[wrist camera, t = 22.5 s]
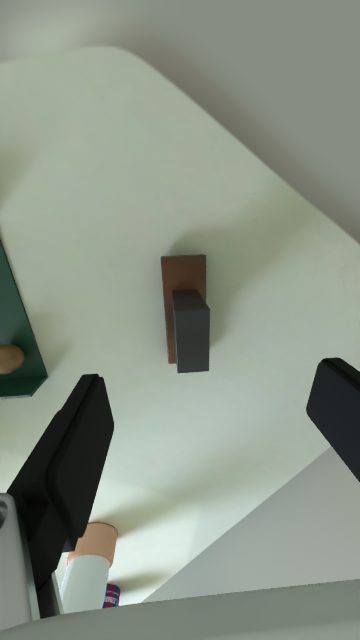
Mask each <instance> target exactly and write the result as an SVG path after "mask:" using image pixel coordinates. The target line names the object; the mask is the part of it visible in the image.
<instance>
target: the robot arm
mask: <svg viewBox="0 0 360 640" xmlns="http://www.w3.org/2000/svg"><path fill="white" fill-rule="evenodd" d="M306 411H307V414H308V416H309V418H310V419H311V420H312V421H313V423H314V424H315V425H316V427H317V428H318V429H319V430H320V432H321V433H322V434H323V436H324V437H325V438H326V439H327V441H328V442H329V443H330V445H331V446H332V447H333V448H334V450H335V451H336V452H337V454H338V455H339V456H340V457H341V459H342V460H343V461H344V463H345V464H346V465H347V466H348V468H349V469H350V470H351V472H352V473H353V474H354V475H355V477H356V478H357V479H358V481H359V482H360V372H359V371H358V370H356V369H355V368H354V367H352V366H351V365H349V364H348V363H347V362H345V361H344V360H342V359H341V358H325V359H323V360H322V361H321V362H320V363H319V364H318V367H317V370H316V374H315V378H314V381H313V385H312V389H311V392H310V396H309V400H308V403H307V407H306ZM113 431H114V421H113V417H112V412H111V408H110V404H109V400H108V395H107V391H106V387H105V383H104V379H103V377H99V375H98V374H86V375H82V376H81V378H80V380H79V381H78V383H77V384H76V386H75V388H74V389H73V391H72V393H71V394H70V396H69V397H68V399H67V401H66V402H65V404H64V406H63V407H62V409H61V410H59V411H58V412H57V413H56V414H55V416H54V417H53V419H52V421H51V422H50V424H49V425H48V427H47V428H46V430H45V432H44V433H43V435H42V436H41V438H40V440H39V441H38V443H37V444H36V446H35V447H34V449H33V451H32V452H31V454H30V455H29V457H28V459H27V460H26V462H25V463H24V465H23V467H22V468H21V470H20V471H19V473H18V474H17V476H16V478H15V479H14V481H13V482H12V484H11V486H10V487H9V489H8V490H7V492H6V493H0V640H360V579H356V580H347V581H337V582H327V583H318V584H308V585H299V586H290V587H281V588H271V589H263V590H253V591H244V592H235V593H226V594H218V595H208V596H200V597H191V598H182V599H174V600H164V601H156V602H147V603H138V604H131V605H124V606H117V607H109V608H102V609H95V610H88V611H81V612H73V613H67V614H64V610H63V606H62V601H61V597H60V593H59V589H58V584H57V580H56V576H55V570H56V569H57V566H58V563H59V560H60V557H61V554H62V553H63V552H73V551H75V548H76V545H77V542H78V538H82V537H83V536H84V534H85V531H86V528H87V524H88V521H89V517H90V514H91V510H92V507H93V503H94V499H95V496H96V492H97V489H98V485H99V481H100V478H101V474H102V471H103V467H104V464H105V460H106V456H107V453H108V449H109V446H110V442H111V438H112V435H113Z"/></svg>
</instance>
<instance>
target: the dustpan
mask: <svg viewBox="0 0 360 640" xmlns="http://www.w3.org/2000/svg"><path fill="white" fill-rule="evenodd" d="M1 344H13V345H16V346H18V347H19V348H20V349H21V350H22V351H23V353H24V362H23V364H22V365H21V367H20V368H19V369H17V370H16V371H14V372H12V373H9V374H0V399H10V398H23V397H31V396H32V395H33V394H34V393H35V392H36V391H37V389H38V388H39V387H40V386H41V385H42V384H43V382H44V381H45V380H46V379H47V378H48V375H47V373H46V370H45V367H44V364H43V361H42V358H41V355H40V352H39V350H38V347H37V344H36V341H35V338H34V335H33V332H32V329H31V326H30V324H29V321H28V318H27V315H26V312H25V309H24V306H23V303H22V301H21V298H20V295H19V292H18V289H17V286H16V283H15V280H14V278H13V275H12V272H11V269H10V266H9V263H8V260H7V257H6V254H5V252H4V249H3V246H2V243H1V240H0V345H1Z"/></svg>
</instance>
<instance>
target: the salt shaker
mask: <svg viewBox="0 0 360 640" xmlns="http://www.w3.org/2000/svg"><path fill="white" fill-rule="evenodd" d="M117 534H118V533H117V531H116V529H115V528H113V527H112V526H110V525H107V524H103V523H91V524H87V528H86V531H85V534H84V536H83V537H82V538H78V542H77V545H76V548H75V551H73V552H69V554H68V557H67V569H66V572H65V575H64V579H63V582H62V585H61V588H60V591H59V593H60V597H61V601H62V606H63V610H64V614H67V613H73V612H81V611H88V610H95V609H102V607H103V603H104V599H105V593H106V586H107V580H108V573H109V568H110V567H111V566H112V563H113V558H114V552H115V546H116V540H117Z"/></svg>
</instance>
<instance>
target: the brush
mask: <svg viewBox="0 0 360 640" xmlns="http://www.w3.org/2000/svg"><path fill="white" fill-rule="evenodd" d="M161 267H162V280H163V294H164V307H165V321H166V335H167V348H168V362H169V364H172V363H177V373H188V372H202V371H209V331H210V309H209V307H208V305H207V304H206V255H203V254H201V255H180V256H162V257H161Z"/></svg>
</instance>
